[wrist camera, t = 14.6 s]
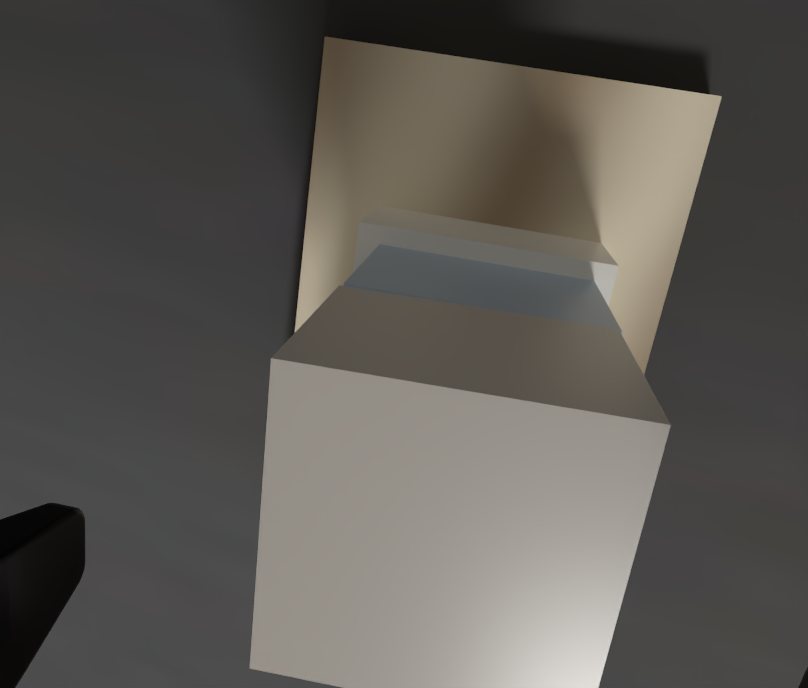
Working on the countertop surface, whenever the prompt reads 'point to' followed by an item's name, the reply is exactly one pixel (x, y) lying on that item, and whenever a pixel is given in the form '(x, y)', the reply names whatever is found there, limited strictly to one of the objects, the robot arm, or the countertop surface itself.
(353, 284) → the middle brick
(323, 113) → the base plate
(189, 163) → the countertop surface
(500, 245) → the lower brick
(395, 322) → the top brick
